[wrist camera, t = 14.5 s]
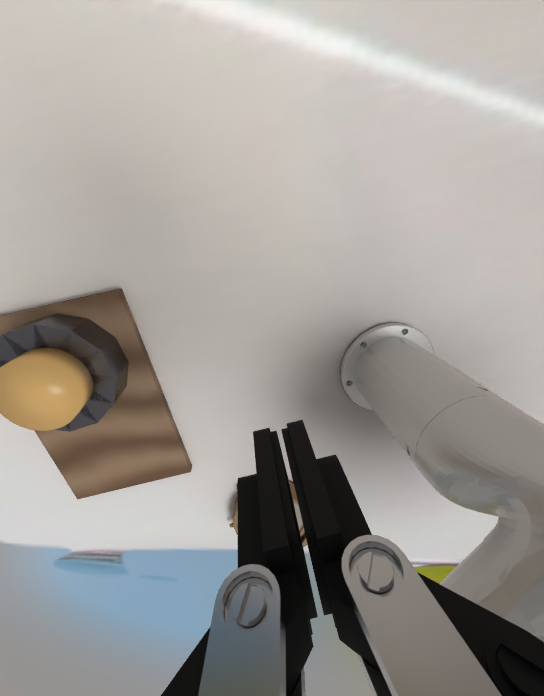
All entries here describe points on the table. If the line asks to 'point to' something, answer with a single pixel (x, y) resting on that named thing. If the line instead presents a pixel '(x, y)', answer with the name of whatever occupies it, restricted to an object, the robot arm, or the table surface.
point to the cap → (44, 389)
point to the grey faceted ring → (86, 346)
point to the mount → (114, 411)
